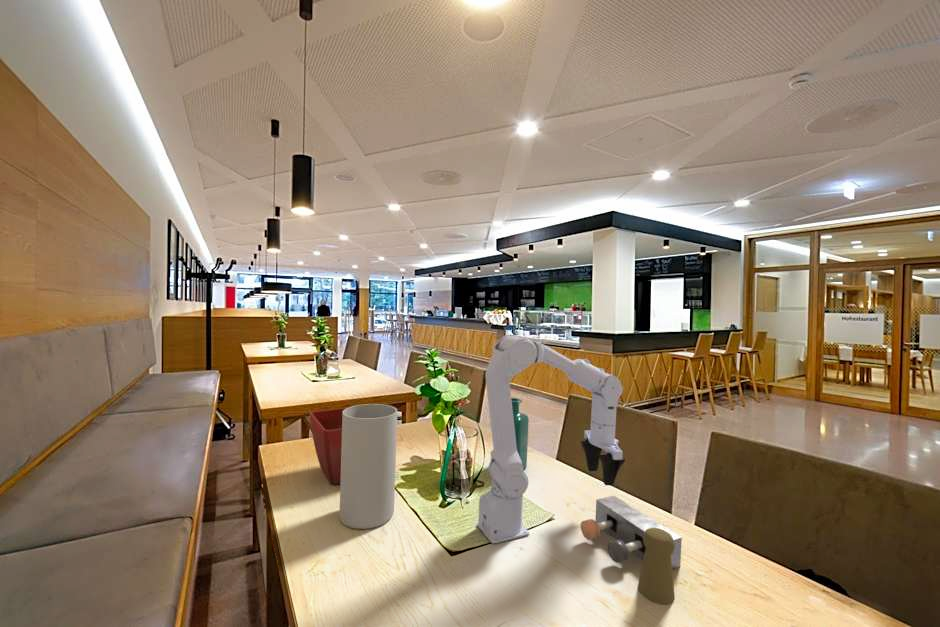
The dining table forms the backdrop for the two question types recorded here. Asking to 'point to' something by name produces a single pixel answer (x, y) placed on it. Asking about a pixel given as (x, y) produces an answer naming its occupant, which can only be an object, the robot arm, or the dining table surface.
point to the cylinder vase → (368, 465)
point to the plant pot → (328, 441)
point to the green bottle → (520, 431)
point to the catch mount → (631, 525)
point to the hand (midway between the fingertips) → (600, 477)
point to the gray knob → (622, 549)
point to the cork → (657, 567)
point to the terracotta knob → (594, 528)
